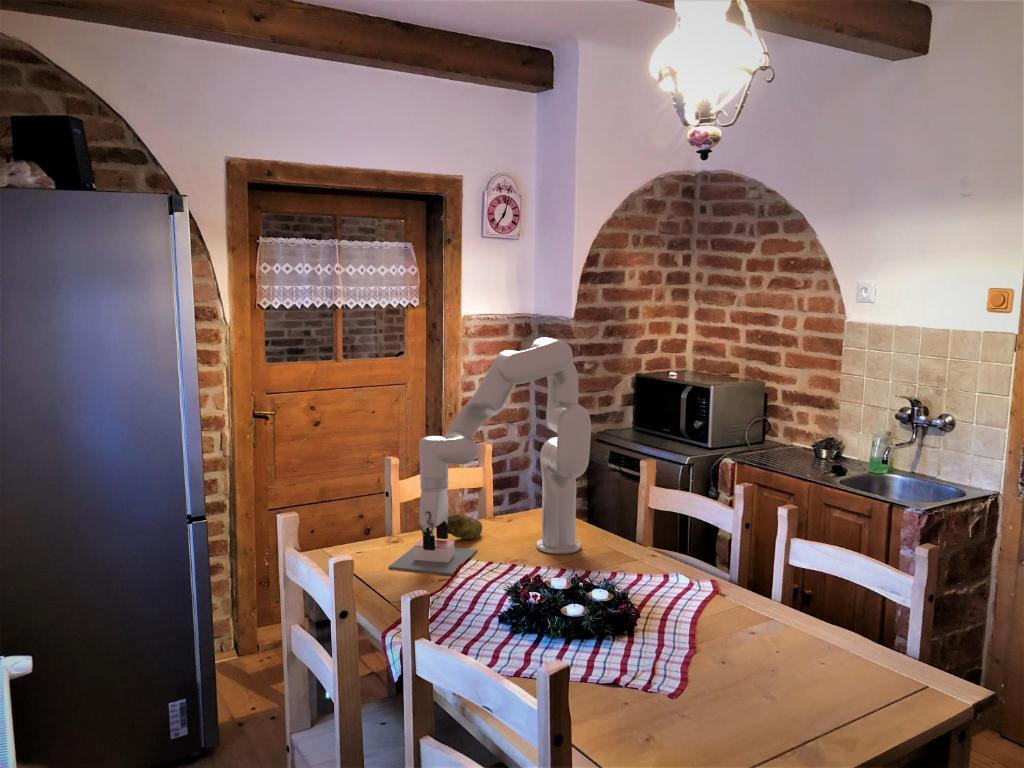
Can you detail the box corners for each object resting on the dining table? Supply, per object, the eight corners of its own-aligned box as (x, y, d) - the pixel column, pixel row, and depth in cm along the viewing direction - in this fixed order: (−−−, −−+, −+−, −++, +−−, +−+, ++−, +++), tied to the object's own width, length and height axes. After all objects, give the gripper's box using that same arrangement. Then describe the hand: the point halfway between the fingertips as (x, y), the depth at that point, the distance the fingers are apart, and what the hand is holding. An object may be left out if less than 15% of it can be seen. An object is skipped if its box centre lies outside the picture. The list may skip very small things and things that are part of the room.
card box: (454, 555, 226) (454, 541, 225) (448, 562, 220) (448, 548, 219) (421, 552, 228) (421, 538, 227) (414, 559, 222) (414, 545, 221)
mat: (417, 545, 236) (417, 543, 236) (477, 551, 231) (477, 549, 231) (388, 568, 217) (388, 566, 217) (453, 575, 212) (453, 573, 212)
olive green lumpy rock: (491, 539, 242) (491, 512, 241) (452, 546, 236) (452, 519, 235) (477, 531, 249) (477, 506, 248) (439, 538, 243) (439, 512, 242)
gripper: (433, 474, 230) (434, 533, 233) (408, 489, 214) (410, 553, 216) (458, 475, 228) (459, 535, 231) (435, 491, 212) (437, 555, 214)
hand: (435, 544), depth 223 cm, fingers open, 9 cm apart
